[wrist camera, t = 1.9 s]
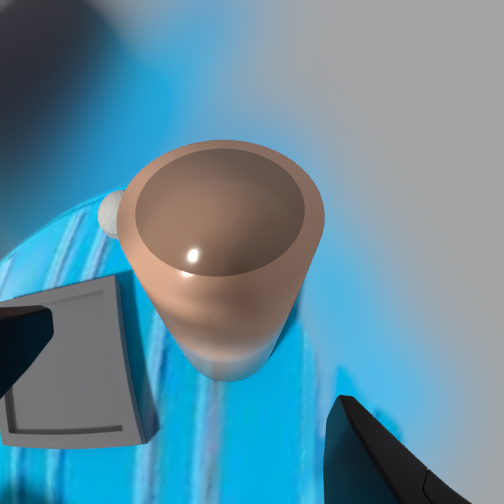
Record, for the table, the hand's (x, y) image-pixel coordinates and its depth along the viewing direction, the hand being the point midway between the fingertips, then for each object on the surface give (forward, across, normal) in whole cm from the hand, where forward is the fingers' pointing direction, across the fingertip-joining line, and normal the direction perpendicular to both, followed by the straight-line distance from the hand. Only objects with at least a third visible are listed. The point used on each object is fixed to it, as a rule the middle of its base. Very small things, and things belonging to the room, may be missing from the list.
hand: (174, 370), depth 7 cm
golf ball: (+16, +11, 0) cm, 19 cm away
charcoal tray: (+7, +11, +9) cm, 16 cm away
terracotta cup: (+11, 0, +5) cm, 12 cm away
